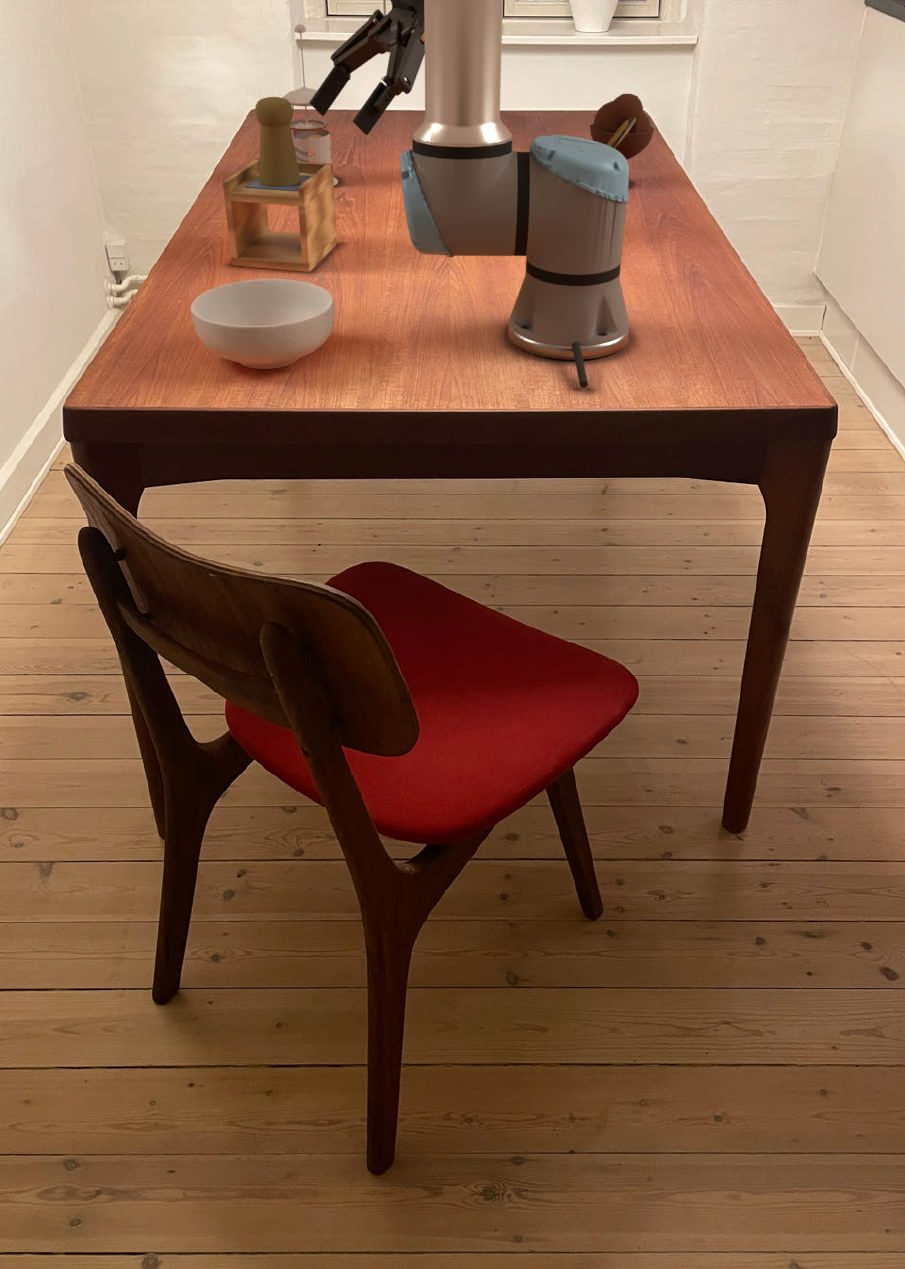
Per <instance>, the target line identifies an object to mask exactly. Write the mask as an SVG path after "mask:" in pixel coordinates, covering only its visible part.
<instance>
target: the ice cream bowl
mask: <svg viewBox="0 0 905 1269" xmlns="http://www.w3.org/2000/svg"><path fill="white" fill-rule="evenodd" d="M633 116H635V119H636V120H635V122H634V124H633V126H632V127H631V129H630V130H629V132H628V133H627V134H626V136H625V137H624V138H623V140H622V141H621V142H620V143H619V145H618V146H617V147H616V148H615V149H616V150H617V151H619V152H620V153H621V154H622V155H623V156H624V157H625V158H626V160H627V161H628V160H630V159H632V158H634V157H636V156H637V155H639V154H640V153H642V151H644V149H646V148H647V147H648V146H649V144H650V142H651V140H652V139H653V134H654V131H655V129H654V128H653V126H652V124H651V121H650V118H649V117H648V116H647V115H646V114H645V113H644V106H643V103H642V101H641V99H640V98H639V96H638V95H635V94H633V93H621V94H620V95H619V96H617V97H615V98H614V99H613V100H611V101H609V102H607V103H604V104H603V105H601V107H599V109H598V110H597V112H596V114H595V115H594V120H593V123H592V124H590V125H589V131H590V137H591V140H592V141H596V142H599V143H602V144H605V145H607V143H608V142H609V141H610V139H611V138H612V136H613V135H614V134H615V132H616V131H617V130H618V129H619V127H620V126H621V125H622V124H623V123H624V122H625V121H626V120H627V119H629V118H631V117H633ZM632 186H633V182H632V180H631V179H630V178H629V180H628V188H630V187H632Z"/></svg>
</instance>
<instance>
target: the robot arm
mask: <svg viewBox="0 0 905 1269" xmlns="http://www.w3.org/2000/svg"><path fill="white" fill-rule="evenodd" d="M390 4H391V10H389V11H388V12H387V13H386V14H384V13H383V12H382V11H381V10H380V9H379V8H378V9H376V10H375V11H373V13H372V14H371V15H370V17H369V18H368V20H367V21H366V22H365V23H364V24H363V25H362V26H360V27H359V29H357V30H356V31H355V32H354V33H353V34H352V35H351V36H350V37H349V38H348V39H347V40H346V41H345V42H343V43H342V44H341V45H340V46H339V47H338V48H337V49H336V50H335V51H334V52H333V53H332V54H331V55H330V58H329V59H330V60H331V61H332V62H333V63H332V64H333V67H332V69H331V70H330V72H329V73H328V75H327V76H326V77H325V79H324V80H323V82H322V83H321V85H320V86H319V87H318V89H317V90H318V91H317V92H316V93H315V95H314V96H313V98H312V99H311V101H310V102H309V103H310V104H311V105H312V106H311V107H313V109H314V110H315V111H316V112H317V113H318V114H319V115H320V116H322V117H324V116H325V115H326V114H327V112H328V110H329V109H330V108H331V107H332V106H333V104H334V103H335V101H336V99H337V98H338V97H339V95H340V93H341V92H342V91H343V90H344V88H345V87H346V85H347V84H348V83H349V81H351V78H352V77H351V76H352V75H351V74H352V73H353V72H355V71H356V70H357V69H359V68H360V67H362V66H363V65H365V64H366V63H368V62H369V61H370V60H372V59H373V58H374V57H376V56H378V55H379V54H380V55H384V54H386V53H389V57H388V62H387V68H386V74H385V75H384V76H383V77H381V81H379V82H378V84H377V85H376V87H375V88H374V89H373V91H372V92H371V94H370V95H369V96H368V98H367V100H365V102H364V104H363V105H362V106H361V108H360V109H359V111H358V112H357V114H356V115H355V116H354V118H353V120H352V122H353V124H354V125H355V126H356V127H357V128H358V129H359V130H360V131H361V132H362V133H363V134H364V135H366V136H369V134H370V133H371V131H372V130H373V128H374V127H375V125H376V124H377V122H378V121H379V120H380V118H381V117H382V116H383V114H384V112H385V111H386V110H387V108H388V107H389V106H390V104H391V103H392V101H393V100H394V99H395V97H396V96H400V95H401V94H402V93H404V94H405V95H408V94H410V93H411V92H412V90H413V87H414V85H415V81H416V79H417V76H418V73H419V71H420V69H421V66H422V63H423V61H424V118H423V121H422V123H421V124H420V125H419V126H418V127H417V128H416V129H415V130H414V132H412V134H411V141H412V142H411V144H412V145H411V146H412V148H407V149H406V150H404V151H402V152H401V153H400V157H399V168H400V174H401V175H400V178H401V189H402V190H401V191H402V197H403V205H404V214H405V218H406V225H407V230H408V234H409V238H410V242H411V244H412V246H413V248H414V249H415V250H416V251H417V252H419V253H420V254H423V255H430V256H431V255H432V256H447V258H454V257H525V258H526V259H525V275H524V278H523V281H522V283H521V285H520V289H519V292H518V294H517V297H516V299H515V302H514V305H513V308H512V311H511V313H510V316H509V318H508V338H509V340H510V342H511V343H512V344H513V345H514V346H516V347H517V348H519V349H521V350H523V351H525V352H527V353H529V354H532V355H535V356H539V357H544V358H550V359H557V360H570V361H571V360H572V361H574V363H575V369H576V372H577V379H578V384H579V388H582V389H585V388H587V387H588V386H589V382H588V377H587V372H586V367H585V362H584V360H591V359H592V360H593V359H598V358H602V357H606V356H610V355H613V354H615V353H617V352H619V351H621V350H622V349H623V348H624V347H626V346H627V344H628V342H629V334H630V321H629V316H628V311H627V307H626V303H625V299H624V292H623V288H622V285H621V268H622V267H621V265H622V256H623V246H624V245H623V244H624V233H625V223H626V214H627V213H626V212H627V204H628V202H629V200H630V193H629V187H628V180H629V179H630V178H629V176H630V175H629V174H630V166H629V163H628V160H626V158H625V157H624V156H623V155H622V154H621V153H620V152H619V151H617V150H616V149H614V148H612V147H610V146H608V145H605V144H602V143H599V142H596V141H593V139H588V138H583V137H580V136H579V137H577V136H572V135H564V134H563V135H562V134H550V135H539V136H536V137H535V138H533V139H532V140H531V144H530V145H529V151H514V150H513V134H512V133H511V131H510V130H509V129H508V128H507V127H506V125H505V124H504V123H503V122H502V120H501V117H500V116H501V88H502V87H501V86H502V85H501V83H502V81H501V80H502V45H503V11H504V10H503V8H504V7H503V6H504V0H390ZM423 59H424V60H423Z"/></svg>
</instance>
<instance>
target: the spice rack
mask: <svg viewBox="0 0 905 1269" xmlns="http://www.w3.org/2000/svg"><path fill="white" fill-rule="evenodd" d="M259 160H260V158H258V157H257V158H255V159H253V160H252V161H250V162H249V163H248V164H246V165H245V166H243V167H241V168H240V169H239V170H238V171H236V172H235V173H233V174H232V175H230V176H229V177H227V178H226V179H224V180H223V181H222V189H223V198H224V207H225V216H226V224H227V233H228V241H229V252H230V260H231V266H236V267H246V268H247V267H248V268H257V269H258V268H259V269H270V270H279V271H280V270H281V271H290V272H302V273H310V272H311V271H312V270H313V269H314V268H315V267H316V266H317V265H318V264H319V263H320V262H322V260H323V259H324V258H326V256H327V255H328V254H329V253H330V252H331V251H332V250H333V249H334V248H335V247H337V245H338V237H337V236H338V234H337V218H336V198H335V185H334V181H333V176H334V166H333V163H331V164H329V163H315V162H316V161H312V162H311V161H308V162H300V161H297V163H298V168H299V173H300V178H301V181H300V182H299V183H298V184H295V185H291V186H283V187H272V186H265V185H262V184H260V183H259ZM267 205H276V206H277V205H278V206H289V207H297V209H298V210H297V211H298V221H299V222H298V223H299V233H297V232H286V231H275V230H274V231H273V230H270V226H269V216H268V215H269V214H268V207H267Z"/></svg>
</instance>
